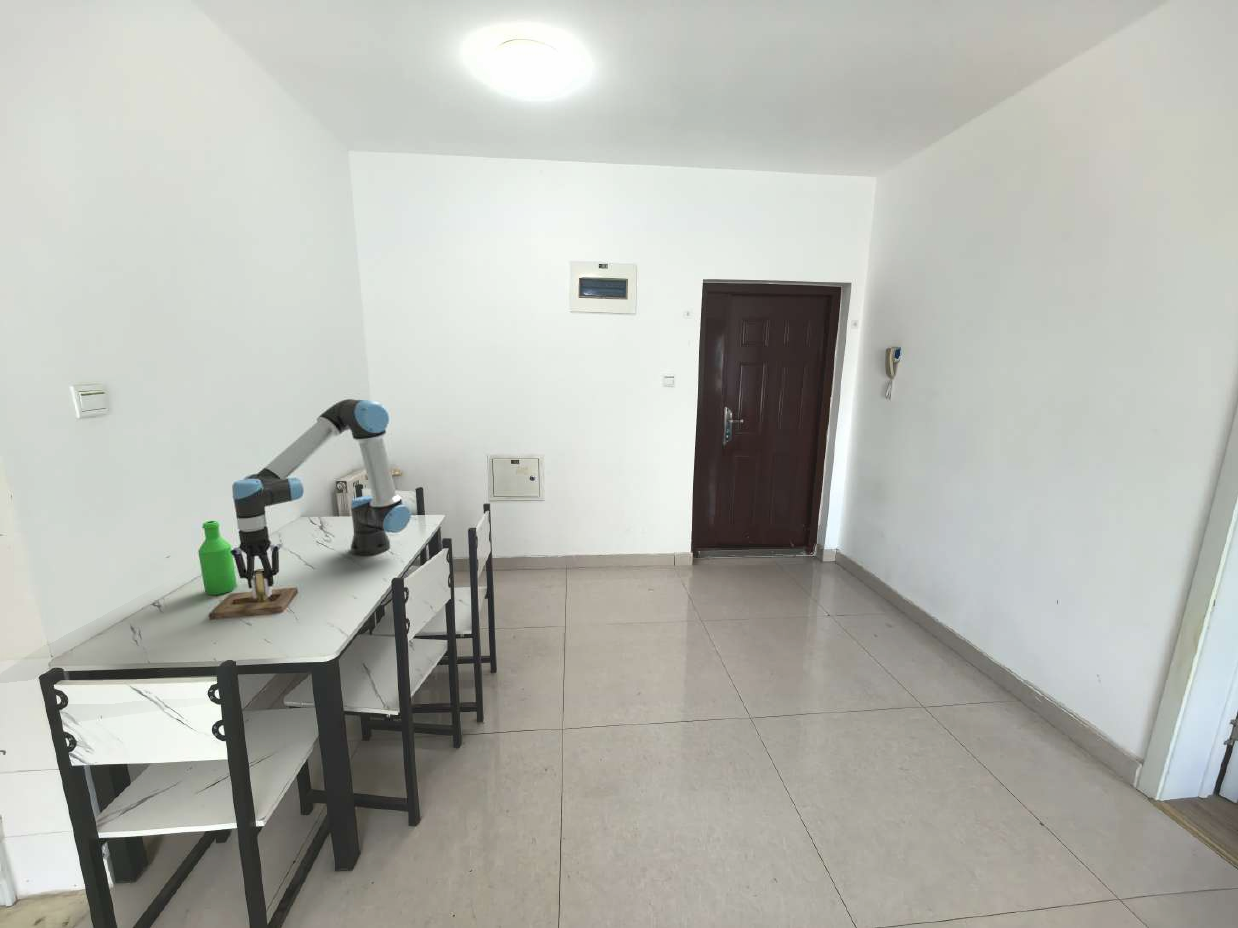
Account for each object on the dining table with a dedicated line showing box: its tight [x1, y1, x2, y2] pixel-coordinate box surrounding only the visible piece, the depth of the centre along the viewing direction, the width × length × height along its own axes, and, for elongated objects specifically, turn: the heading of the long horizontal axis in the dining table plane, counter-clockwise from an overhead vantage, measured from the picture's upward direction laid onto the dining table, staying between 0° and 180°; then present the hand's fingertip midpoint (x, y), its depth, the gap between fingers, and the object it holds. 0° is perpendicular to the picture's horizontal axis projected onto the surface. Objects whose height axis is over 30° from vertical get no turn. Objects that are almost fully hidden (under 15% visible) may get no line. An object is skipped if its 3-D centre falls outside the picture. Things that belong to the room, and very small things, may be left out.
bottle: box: [198, 520, 238, 596], centre depth 173 cm, size 9×9×25 cm
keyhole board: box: [208, 586, 299, 621], centre depth 165 cm, size 20×14×2 cm
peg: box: [253, 568, 271, 603], centre depth 165 cm, size 3×3×12 cm
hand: (262, 595), depth 165 cm, fingers closed on peg, 3 cm apart
